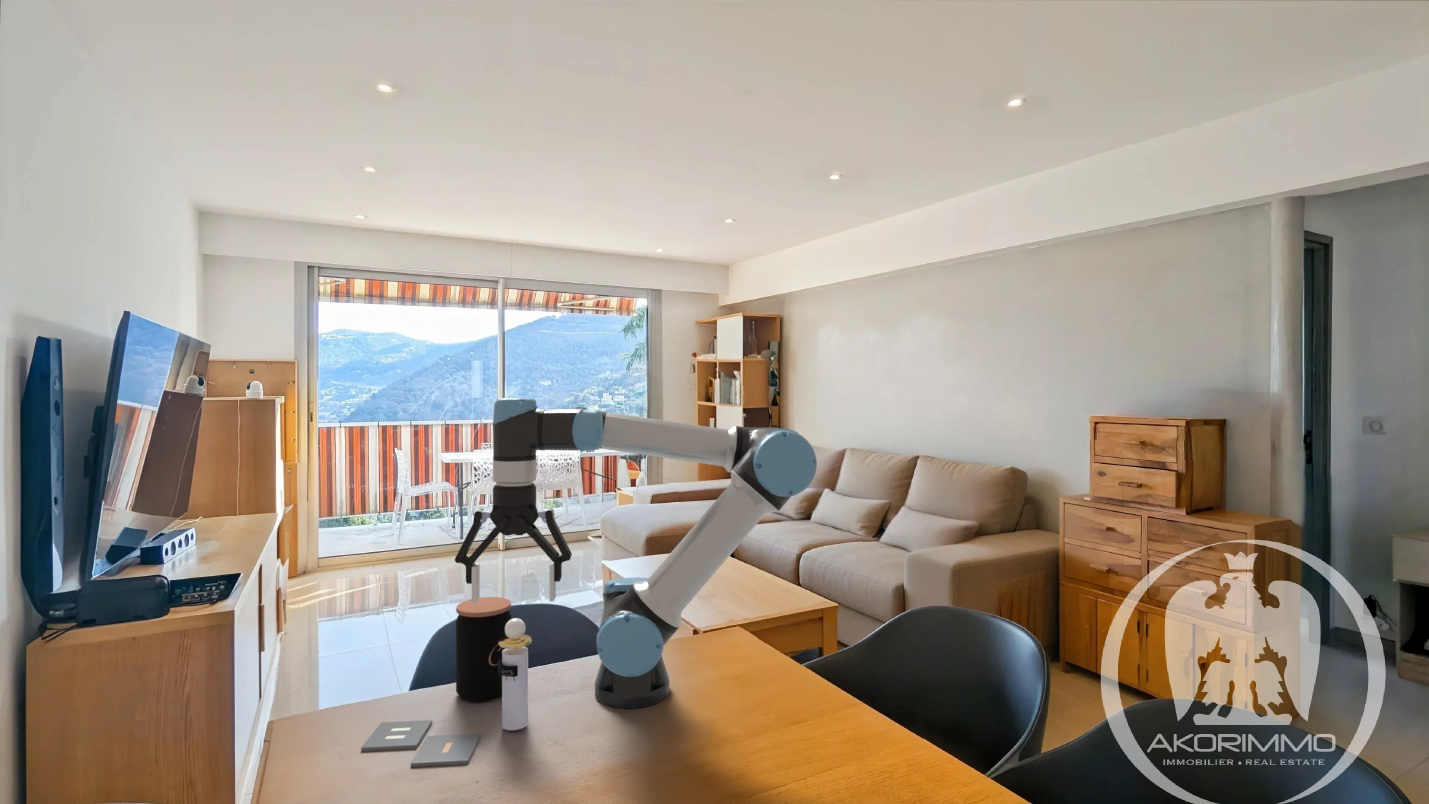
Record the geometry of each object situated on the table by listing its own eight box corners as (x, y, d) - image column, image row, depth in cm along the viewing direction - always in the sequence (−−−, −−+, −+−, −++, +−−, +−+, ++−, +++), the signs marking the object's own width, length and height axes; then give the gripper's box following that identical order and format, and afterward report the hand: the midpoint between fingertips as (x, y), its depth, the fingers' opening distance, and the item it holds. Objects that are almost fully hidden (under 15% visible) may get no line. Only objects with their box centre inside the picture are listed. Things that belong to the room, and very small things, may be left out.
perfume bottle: (512, 718, 128) (512, 612, 127) (538, 724, 125) (538, 615, 125) (491, 732, 122) (491, 621, 122) (517, 738, 120) (517, 625, 120)
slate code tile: (432, 723, 126) (432, 719, 126) (416, 748, 117) (416, 744, 117) (381, 725, 125) (381, 722, 125) (361, 751, 116) (361, 747, 116)
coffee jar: (494, 706, 132) (494, 614, 132) (445, 701, 135) (444, 610, 134) (520, 684, 143) (520, 598, 143) (474, 679, 145) (474, 595, 145)
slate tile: (480, 736, 121) (480, 733, 121) (467, 763, 112) (467, 760, 112) (427, 739, 120) (427, 735, 120) (410, 767, 111) (410, 763, 111)
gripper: (586, 480, 129) (585, 592, 129) (449, 481, 126) (448, 595, 126) (582, 485, 121) (582, 604, 121) (437, 486, 118) (436, 608, 119)
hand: (514, 600), depth 124 cm, fingers open, 13 cm apart
